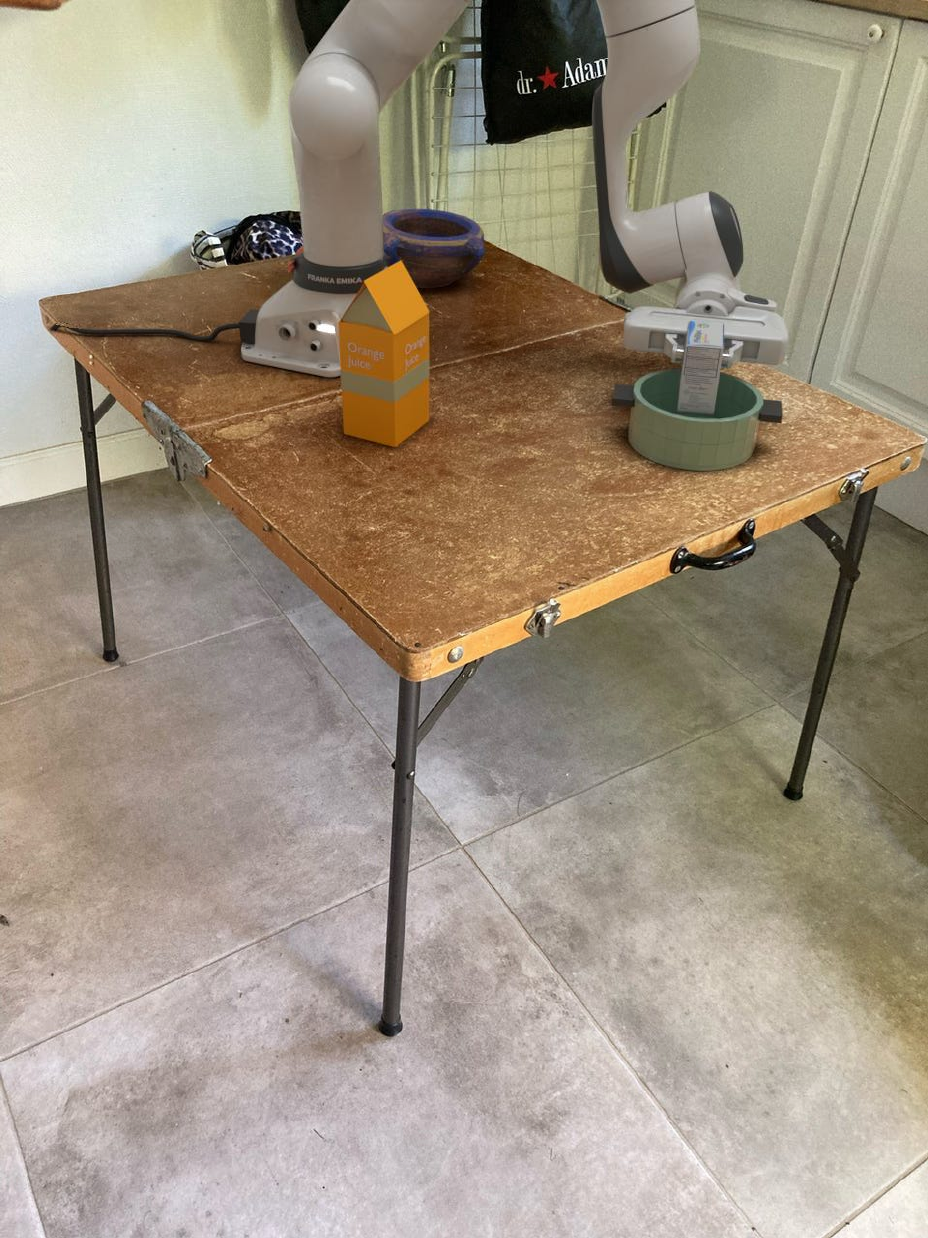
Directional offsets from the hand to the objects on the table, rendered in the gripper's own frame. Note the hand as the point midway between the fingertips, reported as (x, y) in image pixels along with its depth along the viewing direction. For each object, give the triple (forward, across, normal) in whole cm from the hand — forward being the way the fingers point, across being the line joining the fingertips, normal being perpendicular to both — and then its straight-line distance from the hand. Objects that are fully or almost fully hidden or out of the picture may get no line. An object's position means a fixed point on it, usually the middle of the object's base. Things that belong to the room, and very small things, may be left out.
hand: (702, 359), depth 129 cm
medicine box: (+1, 0, +5) cm, 5 cm away
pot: (+1, 0, +10) cm, 11 cm away
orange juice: (+6, -38, +11) cm, 40 cm away
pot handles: (+1, 0, +6) cm, 6 cm away
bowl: (-50, -46, +11) cm, 69 cm away
